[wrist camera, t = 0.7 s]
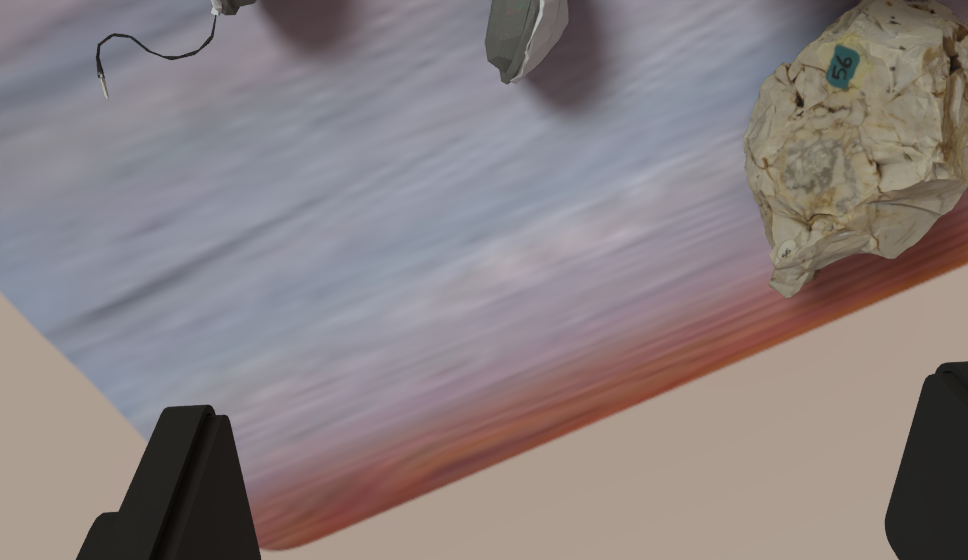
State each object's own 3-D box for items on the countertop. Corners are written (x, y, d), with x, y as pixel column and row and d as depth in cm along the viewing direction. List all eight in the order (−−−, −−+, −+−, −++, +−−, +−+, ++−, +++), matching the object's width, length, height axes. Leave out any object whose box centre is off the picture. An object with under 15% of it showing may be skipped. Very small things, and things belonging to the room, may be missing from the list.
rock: (861, -79, 34) (958, 73, 27) (967, -6, 36) (1080, 149, 30) (665, 131, 41) (703, 288, 35) (763, 179, 44) (816, 333, 38)
